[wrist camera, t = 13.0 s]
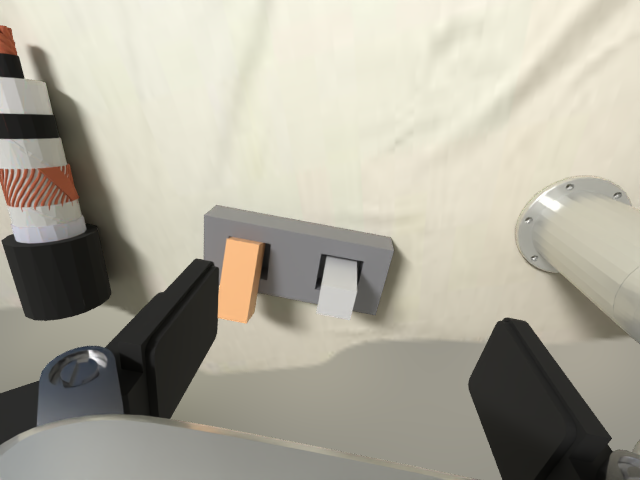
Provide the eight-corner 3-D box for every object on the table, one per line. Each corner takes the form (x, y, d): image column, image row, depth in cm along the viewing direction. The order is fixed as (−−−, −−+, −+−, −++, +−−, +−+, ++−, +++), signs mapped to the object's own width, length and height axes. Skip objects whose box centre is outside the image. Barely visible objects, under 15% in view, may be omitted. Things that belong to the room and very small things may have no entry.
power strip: (390, 237, 44) (399, 275, 35) (374, 298, 49) (378, 346, 40) (216, 205, 45) (181, 234, 36) (214, 268, 49) (182, 308, 40)
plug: (259, 244, 40) (246, 323, 41) (266, 240, 44) (254, 312, 45) (226, 238, 40) (214, 317, 41) (236, 235, 44) (225, 307, 45)
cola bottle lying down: (77, 37, 40) (-8, 10, 31) (126, 286, 51) (75, 323, 42) (2, 38, 41) (-103, 12, 32) (66, 283, 52) (2, 317, 43)
